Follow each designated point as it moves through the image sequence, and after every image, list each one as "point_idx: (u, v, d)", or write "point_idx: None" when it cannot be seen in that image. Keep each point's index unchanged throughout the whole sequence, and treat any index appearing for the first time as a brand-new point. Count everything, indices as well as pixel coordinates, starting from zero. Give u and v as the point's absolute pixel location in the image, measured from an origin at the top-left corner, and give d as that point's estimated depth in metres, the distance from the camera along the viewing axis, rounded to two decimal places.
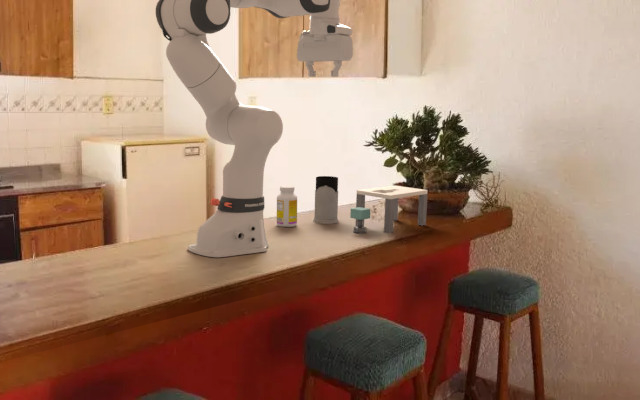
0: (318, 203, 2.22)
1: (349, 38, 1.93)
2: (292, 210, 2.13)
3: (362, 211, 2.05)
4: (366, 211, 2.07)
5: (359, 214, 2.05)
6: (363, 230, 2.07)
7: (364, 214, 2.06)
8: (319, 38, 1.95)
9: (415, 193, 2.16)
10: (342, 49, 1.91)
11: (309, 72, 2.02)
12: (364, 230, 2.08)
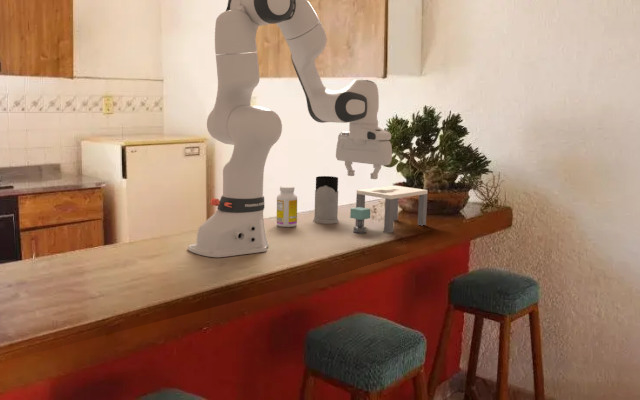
0: (318, 203, 2.22)
1: (388, 143, 1.99)
2: (292, 210, 2.13)
3: (362, 211, 2.05)
4: (366, 211, 2.07)
5: (359, 214, 2.05)
6: (363, 230, 2.07)
7: (364, 214, 2.06)
8: (358, 142, 2.02)
9: (415, 193, 2.16)
10: (382, 156, 1.97)
11: (348, 172, 2.09)
12: (364, 230, 2.08)
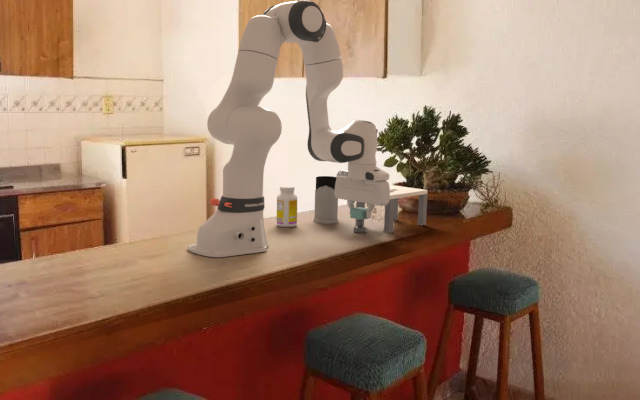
0: (318, 203, 2.22)
1: (386, 184, 2.01)
2: (292, 210, 2.13)
3: (362, 211, 2.05)
4: None
5: (359, 214, 2.05)
6: (363, 230, 2.07)
7: None
8: (357, 182, 2.04)
9: (415, 193, 2.16)
10: (380, 196, 1.99)
11: (350, 211, 2.10)
12: (364, 230, 2.08)
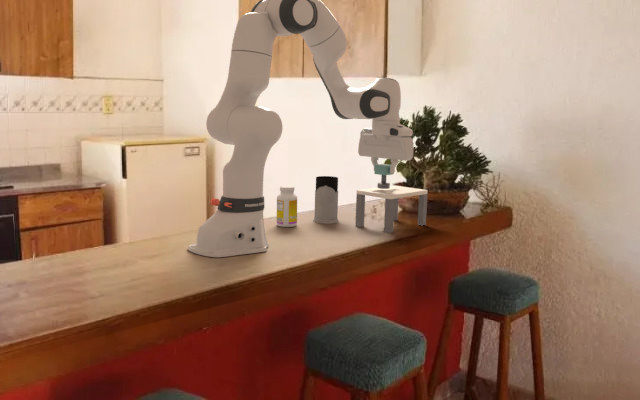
0: (318, 203, 2.22)
1: (410, 139, 2.07)
2: (292, 210, 2.13)
3: (386, 167, 2.11)
4: None
5: (383, 170, 2.11)
6: (387, 186, 2.13)
7: None
8: (381, 138, 2.10)
9: (415, 193, 2.16)
10: (404, 151, 2.05)
11: (374, 167, 2.15)
12: (388, 186, 2.13)
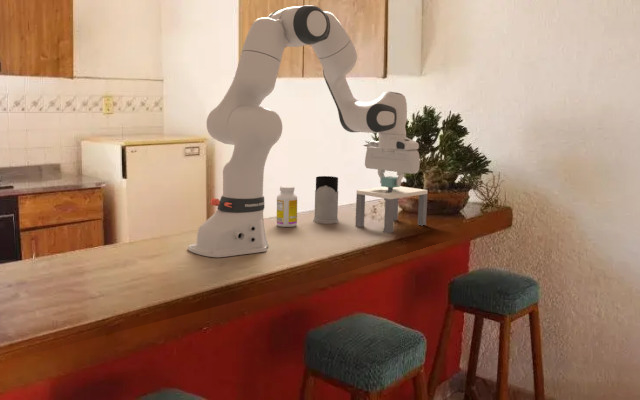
0: (318, 203, 2.22)
1: (416, 153, 2.10)
2: (292, 210, 2.13)
3: (393, 179, 2.14)
4: (396, 179, 2.16)
5: (390, 183, 2.15)
6: None
7: None
8: (388, 152, 2.13)
9: (415, 193, 2.16)
10: (411, 164, 2.08)
11: None
12: None
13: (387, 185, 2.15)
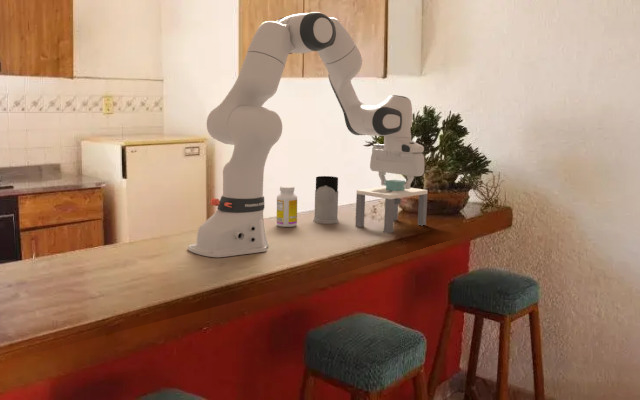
0: (318, 203, 2.22)
1: (421, 156, 2.12)
2: (292, 210, 2.13)
3: (398, 183, 2.17)
4: (401, 183, 2.18)
5: (395, 186, 2.17)
6: (398, 201, 2.19)
7: (399, 186, 2.17)
8: (393, 154, 2.15)
9: (415, 193, 2.16)
10: (416, 167, 2.10)
11: (382, 182, 2.22)
12: (399, 201, 2.19)
13: (392, 188, 2.18)
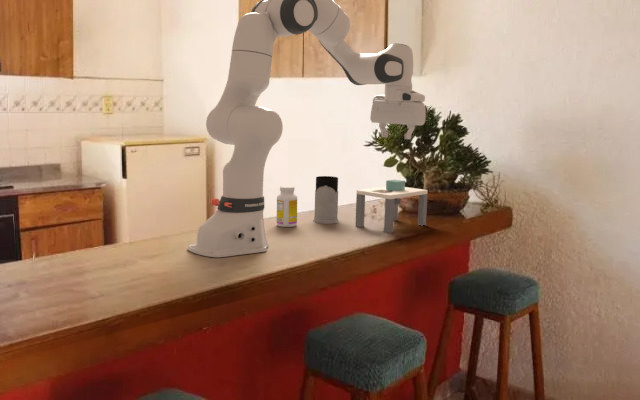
0: (318, 203, 2.22)
1: (422, 105, 2.10)
2: (292, 210, 2.13)
3: (398, 183, 2.17)
4: (401, 183, 2.18)
5: (395, 186, 2.17)
6: (398, 201, 2.19)
7: (399, 186, 2.17)
8: (393, 104, 2.12)
9: (415, 193, 2.16)
10: (416, 116, 2.08)
11: (382, 133, 2.19)
12: (399, 201, 2.19)
13: (392, 188, 2.18)
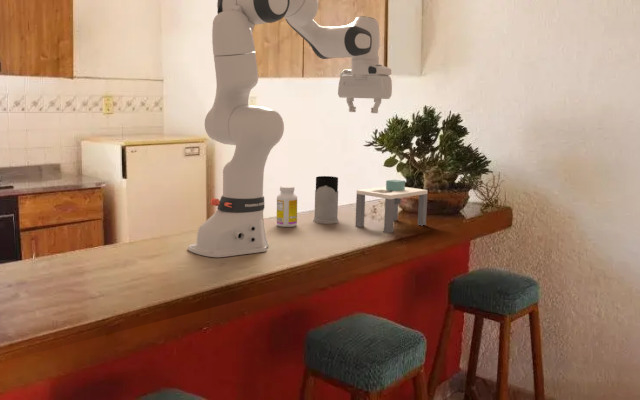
0: (318, 203, 2.22)
1: (389, 78, 2.08)
2: (292, 210, 2.13)
3: (398, 183, 2.17)
4: (401, 183, 2.18)
5: (395, 186, 2.17)
6: (398, 201, 2.19)
7: (399, 186, 2.17)
8: (360, 78, 2.11)
9: (415, 193, 2.16)
10: (382, 89, 2.06)
11: (350, 108, 2.18)
12: (399, 201, 2.19)
13: (392, 188, 2.18)
